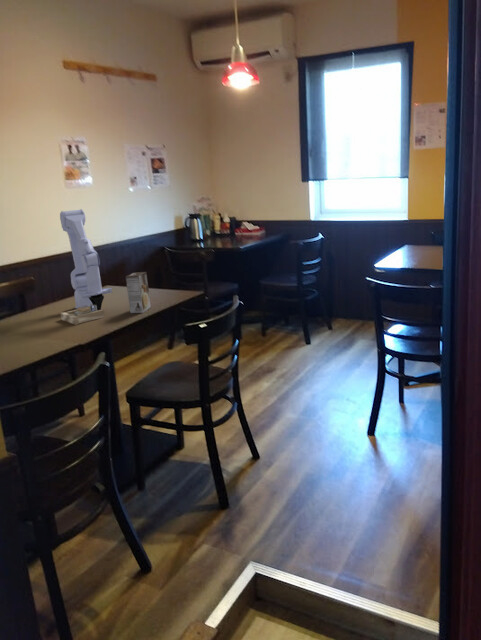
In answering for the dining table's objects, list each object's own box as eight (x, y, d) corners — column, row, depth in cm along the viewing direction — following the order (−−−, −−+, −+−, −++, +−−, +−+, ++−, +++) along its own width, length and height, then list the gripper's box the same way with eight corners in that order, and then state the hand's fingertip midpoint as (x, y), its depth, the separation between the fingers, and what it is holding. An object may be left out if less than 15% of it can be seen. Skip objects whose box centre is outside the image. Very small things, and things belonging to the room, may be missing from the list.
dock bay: (61, 319, 238) (60, 312, 237) (90, 312, 246) (89, 306, 245) (75, 324, 227) (74, 317, 227) (105, 317, 236) (104, 310, 235)
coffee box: (137, 307, 248) (133, 272, 244) (151, 307, 247) (146, 271, 242) (129, 313, 239) (124, 276, 235) (143, 312, 238) (139, 275, 234)
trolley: (75, 318, 237) (73, 307, 236) (92, 314, 242) (90, 303, 241) (81, 320, 233) (80, 309, 232) (98, 316, 238) (97, 305, 237)
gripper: (82, 285, 230) (87, 317, 234) (113, 279, 239) (117, 309, 243) (74, 283, 235) (79, 314, 239) (105, 277, 244) (110, 307, 248)
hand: (98, 312), depth 241 cm, fingers closed
